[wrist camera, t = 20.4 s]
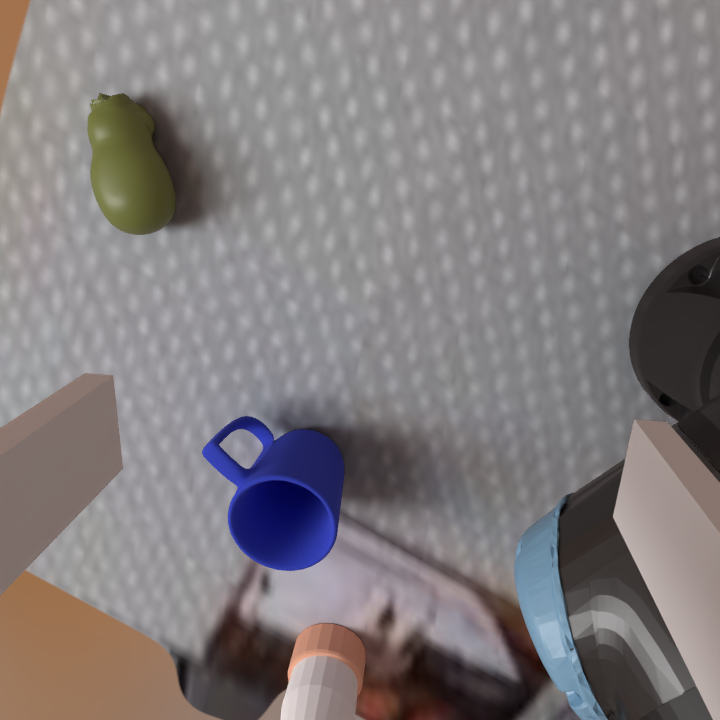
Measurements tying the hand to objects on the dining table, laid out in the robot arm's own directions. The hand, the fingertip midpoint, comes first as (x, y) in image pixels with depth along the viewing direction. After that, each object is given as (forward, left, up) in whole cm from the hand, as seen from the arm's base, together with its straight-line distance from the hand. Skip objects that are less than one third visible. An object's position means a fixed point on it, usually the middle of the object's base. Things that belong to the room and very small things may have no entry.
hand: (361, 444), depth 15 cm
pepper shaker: (+5, +41, -33) cm, 53 cm away
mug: (+9, +18, -33) cm, 39 cm away
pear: (+21, -5, -33) cm, 39 cm away
